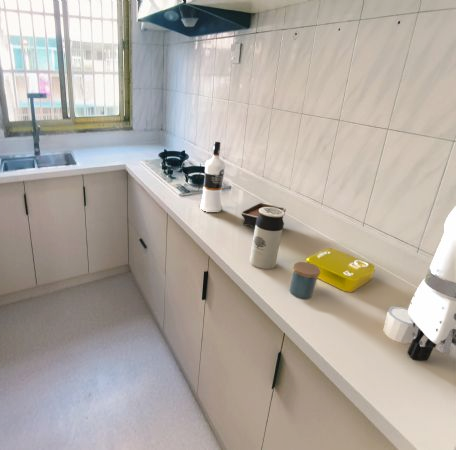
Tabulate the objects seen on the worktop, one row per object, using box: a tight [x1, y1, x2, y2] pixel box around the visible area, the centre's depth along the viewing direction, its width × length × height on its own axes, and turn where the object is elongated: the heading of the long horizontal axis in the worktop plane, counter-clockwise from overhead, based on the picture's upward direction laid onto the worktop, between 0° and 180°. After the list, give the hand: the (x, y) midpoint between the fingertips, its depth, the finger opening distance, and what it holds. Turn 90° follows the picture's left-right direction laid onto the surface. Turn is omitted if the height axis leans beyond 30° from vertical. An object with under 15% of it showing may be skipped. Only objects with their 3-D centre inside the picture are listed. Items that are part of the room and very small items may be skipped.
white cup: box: [382, 306, 415, 345], centre depth 77 cm, size 7×7×7 cm
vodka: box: [199, 141, 226, 213], centre depth 145 cm, size 9×9×30 cm
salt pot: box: [289, 261, 320, 300], centre depth 92 cm, size 7×7×8 cm
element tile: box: [305, 247, 376, 293], centre depth 103 cm, size 15×15×5 cm
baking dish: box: [240, 202, 287, 229], centre depth 134 cm, size 14×18×10 cm
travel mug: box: [249, 207, 286, 270], centre depth 105 cm, size 8×8×18 cm
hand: (416, 357), depth 71 cm, fingers closed
